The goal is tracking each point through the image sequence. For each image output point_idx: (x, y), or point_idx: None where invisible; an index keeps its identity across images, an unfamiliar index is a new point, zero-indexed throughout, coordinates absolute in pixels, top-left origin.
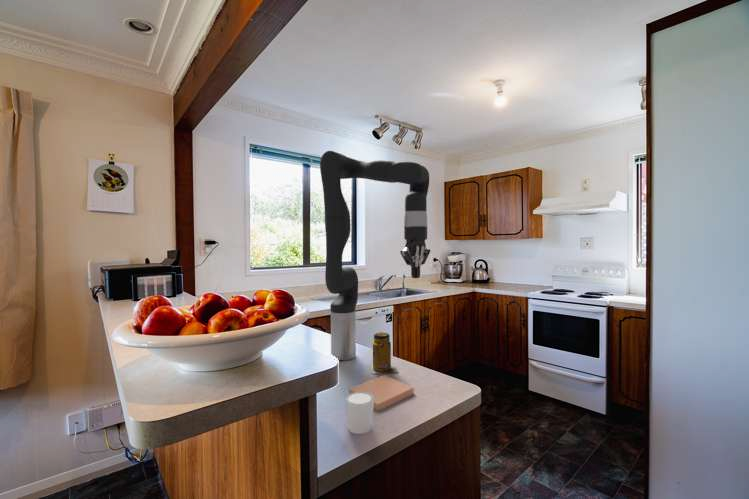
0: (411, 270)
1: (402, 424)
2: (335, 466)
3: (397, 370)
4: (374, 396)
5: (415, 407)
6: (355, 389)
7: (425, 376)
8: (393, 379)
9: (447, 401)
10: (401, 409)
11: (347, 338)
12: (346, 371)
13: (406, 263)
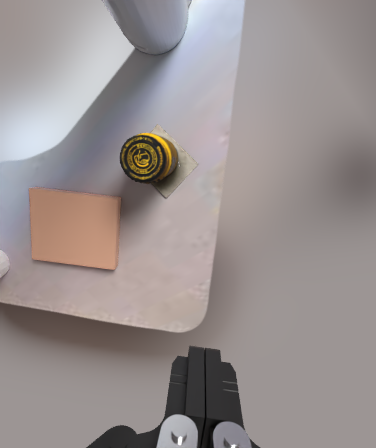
0: (168, 392)
1: (40, 298)
2: None
3: (173, 189)
4: (44, 240)
5: (85, 289)
6: (36, 198)
7: (187, 246)
8: (114, 225)
9: (132, 314)
10: (66, 277)
11: (125, 25)
12: (96, 103)
13: (96, 442)
